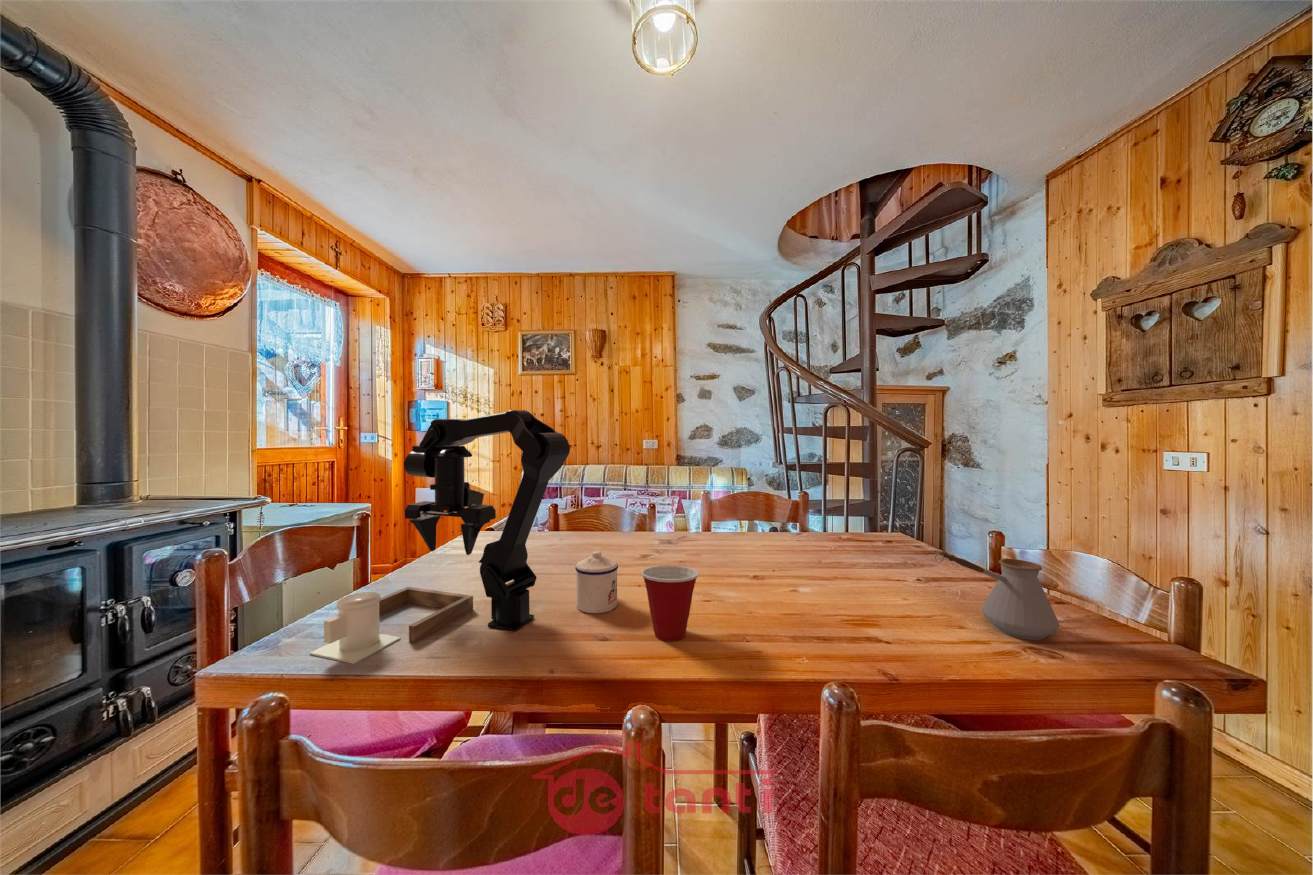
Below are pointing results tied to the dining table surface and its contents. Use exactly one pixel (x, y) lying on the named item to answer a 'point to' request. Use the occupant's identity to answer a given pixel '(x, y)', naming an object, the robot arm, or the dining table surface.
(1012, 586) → the coffee pot
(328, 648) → the pad
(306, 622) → the dining table surface
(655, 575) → the plastic cup
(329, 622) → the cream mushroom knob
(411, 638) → the cradle
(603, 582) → the teacup with lid
